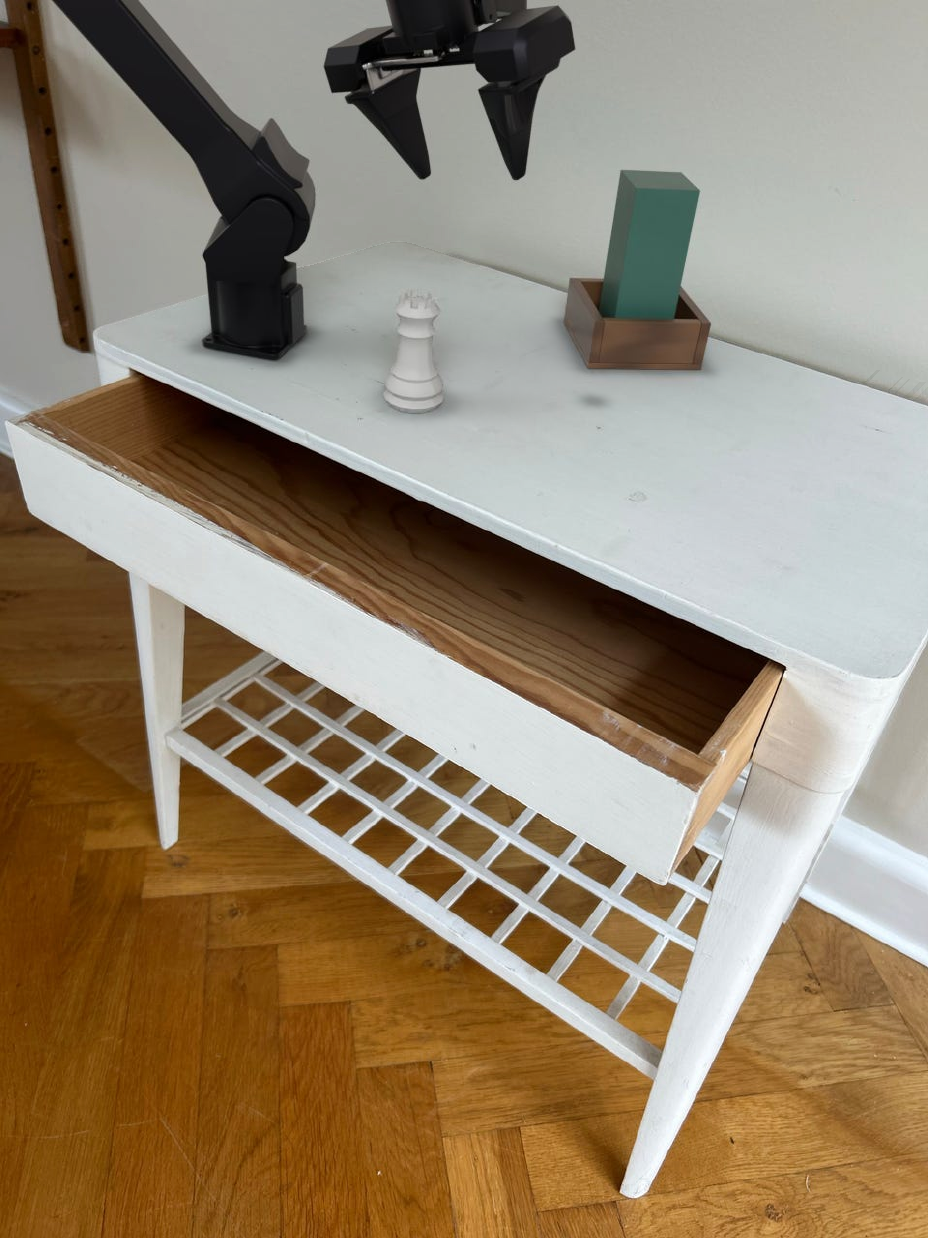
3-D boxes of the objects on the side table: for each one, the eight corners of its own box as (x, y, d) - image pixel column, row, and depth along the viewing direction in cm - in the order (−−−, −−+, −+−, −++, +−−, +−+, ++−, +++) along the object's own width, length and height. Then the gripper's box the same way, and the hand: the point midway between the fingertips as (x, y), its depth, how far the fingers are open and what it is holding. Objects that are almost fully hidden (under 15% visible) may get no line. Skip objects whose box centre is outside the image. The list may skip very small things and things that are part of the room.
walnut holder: (587, 368, 82) (595, 320, 79) (563, 322, 89) (569, 277, 87) (700, 369, 83) (711, 323, 81) (667, 324, 91) (676, 279, 88)
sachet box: (608, 352, 83) (636, 187, 75) (595, 328, 87) (620, 169, 79) (667, 353, 84) (700, 190, 76) (651, 329, 88) (681, 171, 80)
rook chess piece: (455, 403, 75) (462, 298, 70) (413, 421, 72) (417, 313, 68) (413, 383, 77) (417, 279, 72) (370, 399, 75) (372, 293, 70)
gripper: (601, -124, 64) (635, 133, 73) (391, -80, 75) (445, 138, 85) (497, -75, 58) (547, 196, 68) (287, -35, 69) (357, 193, 79)
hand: (470, 177), depth 75 cm, fingers open, 9 cm apart
